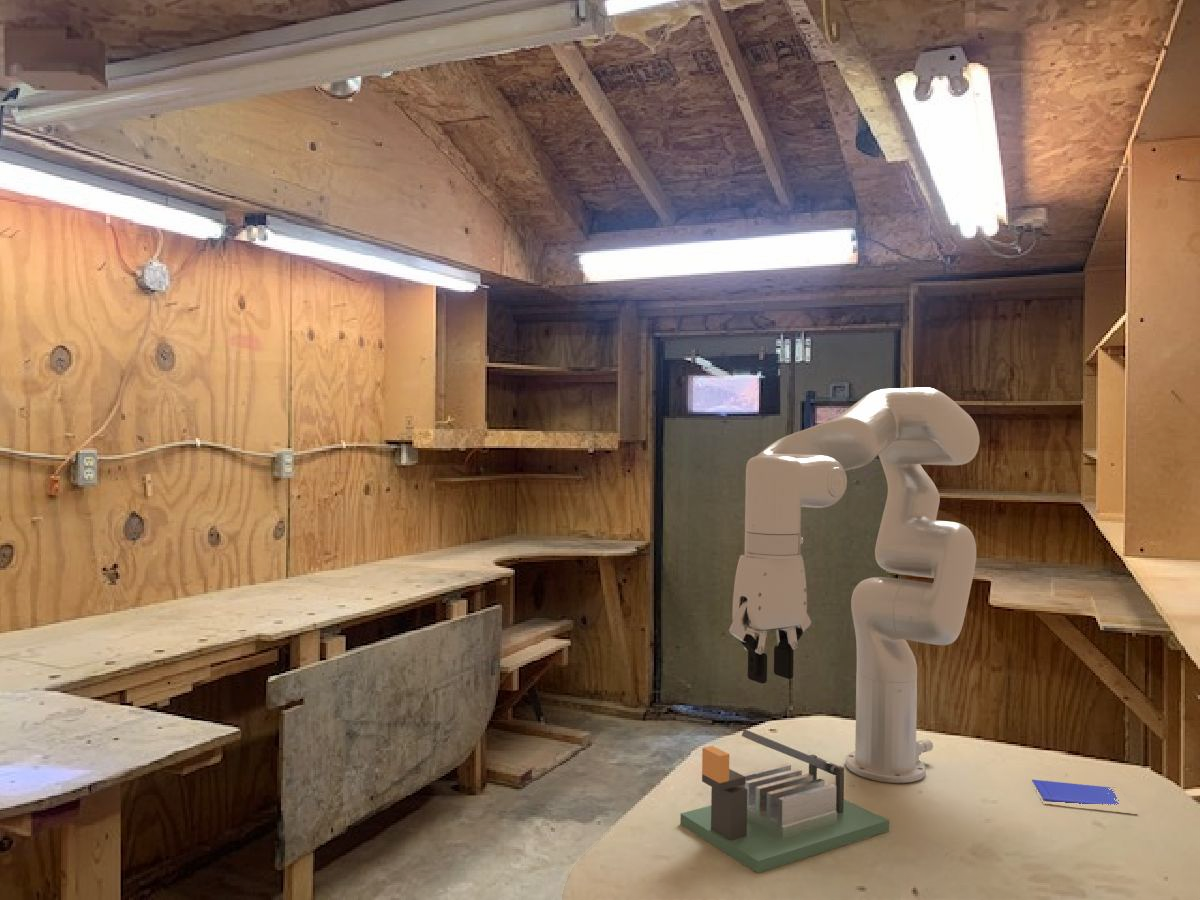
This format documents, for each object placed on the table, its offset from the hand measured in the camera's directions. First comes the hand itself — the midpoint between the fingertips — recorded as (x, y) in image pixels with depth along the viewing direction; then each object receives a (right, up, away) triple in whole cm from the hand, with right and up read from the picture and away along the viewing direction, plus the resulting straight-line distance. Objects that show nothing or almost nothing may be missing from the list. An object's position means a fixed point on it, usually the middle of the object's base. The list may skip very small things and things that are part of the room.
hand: (770, 677), depth 118 cm
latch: (-7, -13, -4) cm, 15 cm away
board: (+2, -21, +2) cm, 22 cm away
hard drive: (+50, -23, +13) cm, 57 cm away
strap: (+3, -12, +2) cm, 12 cm away
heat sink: (+2, -20, +2) cm, 20 cm away
